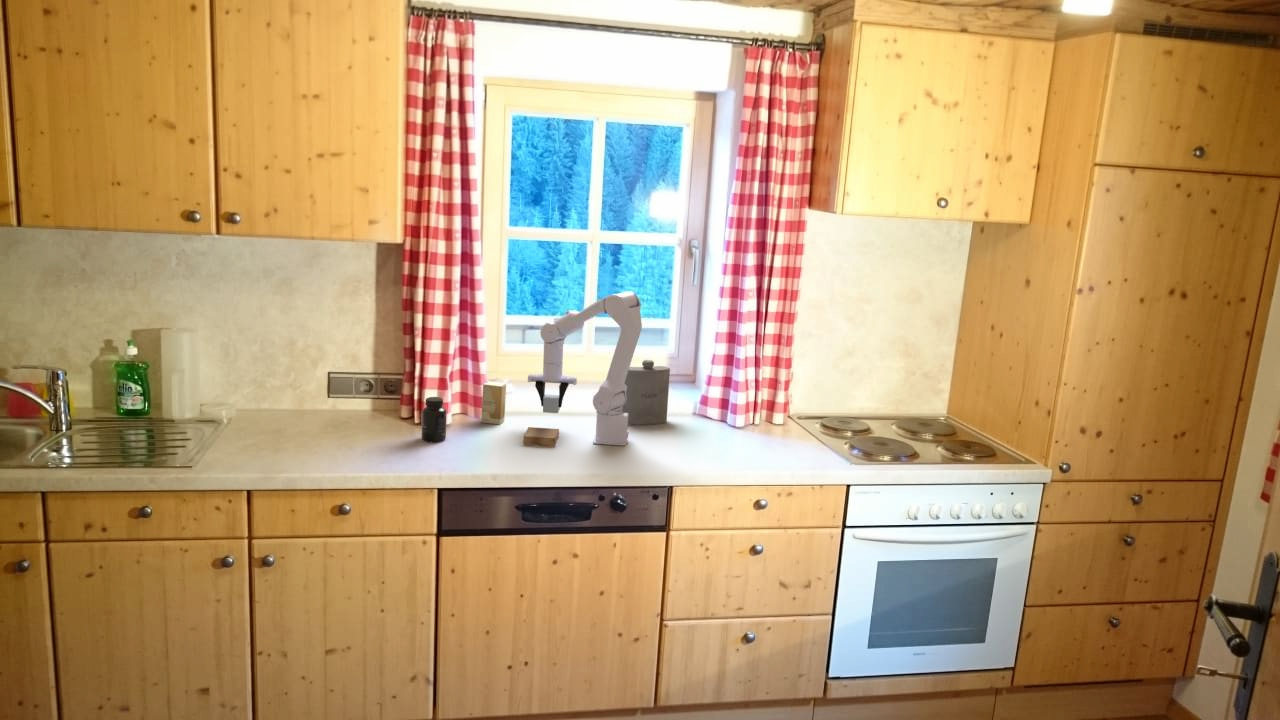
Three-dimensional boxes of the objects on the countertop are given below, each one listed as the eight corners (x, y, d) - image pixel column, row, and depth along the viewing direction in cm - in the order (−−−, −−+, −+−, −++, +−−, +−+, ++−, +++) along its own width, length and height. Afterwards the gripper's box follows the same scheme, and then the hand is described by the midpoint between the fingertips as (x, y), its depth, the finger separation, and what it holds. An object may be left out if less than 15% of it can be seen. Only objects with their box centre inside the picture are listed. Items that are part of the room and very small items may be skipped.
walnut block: (558, 438, 275) (558, 429, 274) (554, 448, 266) (555, 438, 265) (528, 436, 275) (528, 427, 274) (523, 446, 266) (523, 436, 266)
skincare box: (480, 422, 285) (481, 383, 282) (485, 419, 289) (486, 380, 286) (501, 424, 284) (502, 385, 281) (505, 421, 288) (506, 382, 285)
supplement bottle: (416, 440, 264) (416, 399, 262) (430, 434, 271) (430, 394, 268) (437, 444, 262) (437, 403, 259) (450, 438, 268) (451, 397, 266)
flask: (624, 426, 290) (628, 363, 286) (619, 420, 295) (622, 359, 291) (669, 424, 295) (673, 362, 291) (663, 418, 300) (667, 358, 296)
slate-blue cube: (559, 409, 284) (560, 395, 283) (557, 413, 280) (558, 398, 279) (544, 408, 284) (545, 394, 283) (542, 412, 280) (543, 397, 279)
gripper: (578, 360, 282) (576, 404, 285) (530, 357, 283) (529, 401, 286) (576, 365, 276) (574, 410, 278) (527, 362, 276) (525, 407, 279)
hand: (551, 406), depth 282 cm, fingers closed on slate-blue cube, 4 cm apart
